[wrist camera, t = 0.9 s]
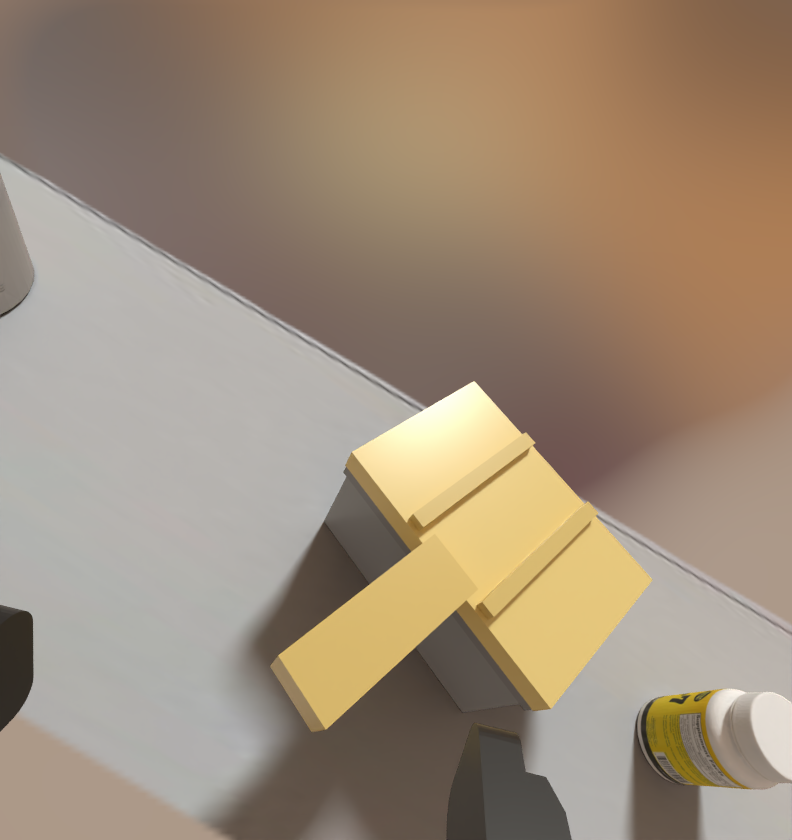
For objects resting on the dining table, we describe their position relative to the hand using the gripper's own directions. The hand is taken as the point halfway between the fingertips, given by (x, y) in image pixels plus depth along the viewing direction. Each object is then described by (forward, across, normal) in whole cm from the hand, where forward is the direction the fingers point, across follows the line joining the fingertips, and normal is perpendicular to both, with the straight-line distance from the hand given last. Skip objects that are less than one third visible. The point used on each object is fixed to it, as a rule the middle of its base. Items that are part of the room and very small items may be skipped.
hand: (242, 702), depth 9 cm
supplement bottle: (+20, -22, +17) cm, 35 cm away
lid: (+15, -5, +6) cm, 17 cm away
